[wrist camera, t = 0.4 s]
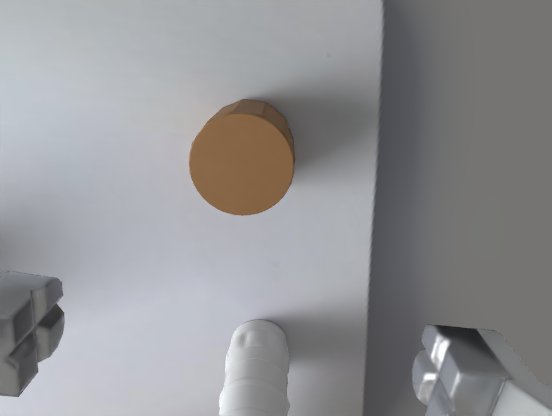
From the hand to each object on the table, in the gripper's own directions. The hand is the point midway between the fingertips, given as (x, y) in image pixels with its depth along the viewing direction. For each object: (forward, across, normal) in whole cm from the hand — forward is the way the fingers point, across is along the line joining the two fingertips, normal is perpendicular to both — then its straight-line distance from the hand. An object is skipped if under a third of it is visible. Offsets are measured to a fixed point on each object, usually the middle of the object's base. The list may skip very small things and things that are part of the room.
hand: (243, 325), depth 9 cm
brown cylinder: (+20, +1, 0) cm, 20 cm away
